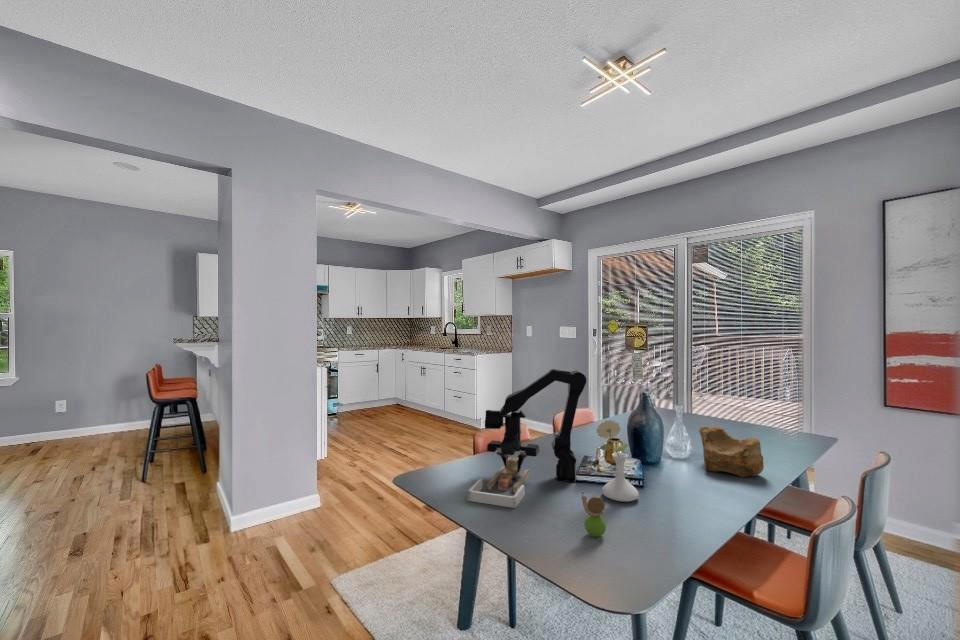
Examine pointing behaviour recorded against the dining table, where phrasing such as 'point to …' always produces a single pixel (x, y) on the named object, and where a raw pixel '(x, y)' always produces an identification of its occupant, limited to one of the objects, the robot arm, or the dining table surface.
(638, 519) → the dining table surface
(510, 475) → the brown cube
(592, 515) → the snail figurine
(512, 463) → the scraper
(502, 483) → the chip
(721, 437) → the rough brown rock
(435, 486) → the dining table surface
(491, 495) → the tray
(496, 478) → the channel
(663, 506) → the dining table surface
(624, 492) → the flower in vase
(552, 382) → the robot arm
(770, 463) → the dining table surface
